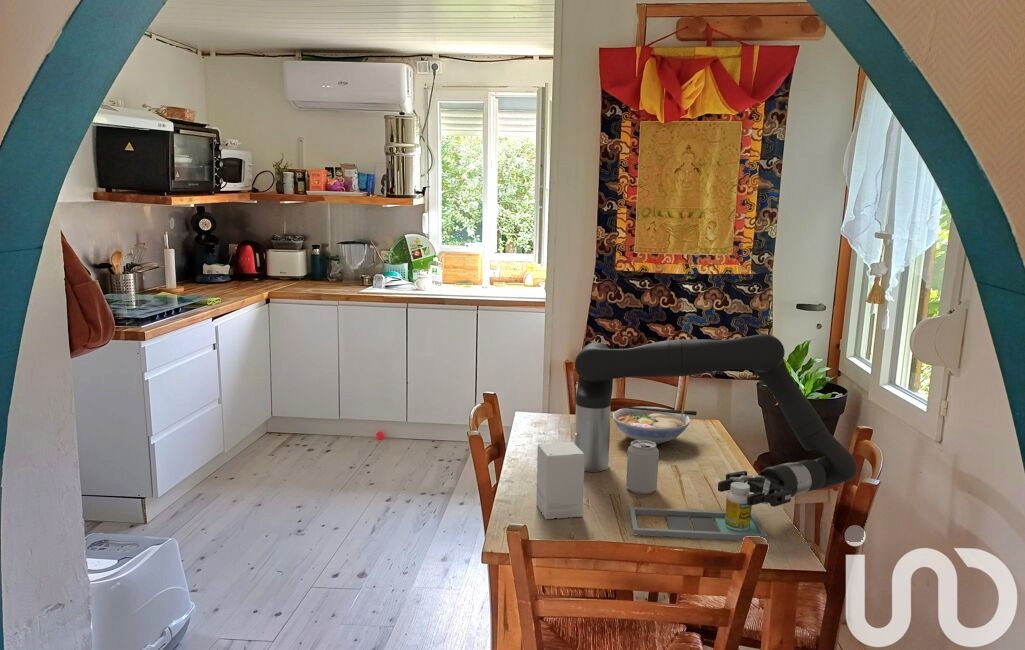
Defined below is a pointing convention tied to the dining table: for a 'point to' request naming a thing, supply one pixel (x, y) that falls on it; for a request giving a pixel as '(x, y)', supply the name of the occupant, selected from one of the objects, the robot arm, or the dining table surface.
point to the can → (642, 467)
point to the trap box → (695, 524)
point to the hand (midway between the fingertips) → (733, 493)
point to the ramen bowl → (652, 423)
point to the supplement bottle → (738, 507)
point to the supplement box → (560, 480)
